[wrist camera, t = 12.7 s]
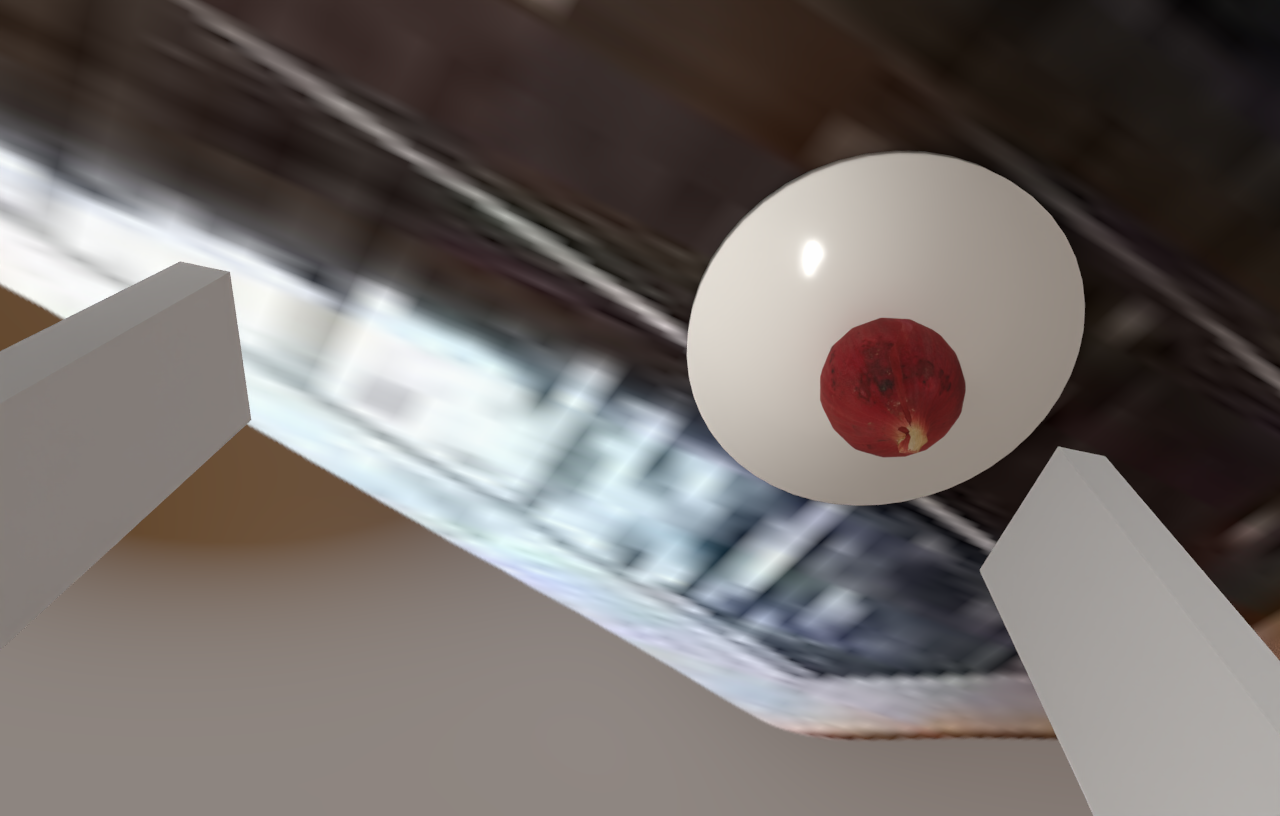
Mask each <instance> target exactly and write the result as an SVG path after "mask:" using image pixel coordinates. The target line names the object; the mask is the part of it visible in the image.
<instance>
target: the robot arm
mask: <svg viewBox="0 0 1280 816" xmlns="http://www.w3.org/2000/svg"><path fill="white" fill-rule="evenodd" d="M250 420H251V416H250V409H249V402H248V395H247V388H246V381H245V374H244V367H243V360H242V353H241V346H240V339H239V332H238V325H237V318H236V311H235V304H234V297H233V291H232V284H231V277H230V272H227V271H222V270H218V269H213V268H208V267H203V266H199V265H194V264H189V263H184V262H178V263H176V264H174V265H172V266H170V267H168V268H166V269H164V270H162V271H160V272H158V273H156V274H154V275H152V276H150V277H148V278H146V279H144V280H142V281H140V282H138V283H136V284H134V285H132V286H130V287H128V288H126V289H124V290H122V291H120V292H118V293H116V294H114V295H112V296H110V297H108V298H106V299H104V300H102V301H100V302H98V303H96V304H94V305H92V306H90V307H88V308H86V309H84V310H82V311H80V312H78V313H76V314H74V315H72V316H70V317H68V318H66V319H64V320H62V321H60V322H58V323H56V324H54V325H52V326H50V327H48V328H46V329H44V330H42V331H40V332H38V333H36V334H34V335H32V336H30V337H28V338H26V339H24V340H22V341H20V342H18V343H16V344H14V345H12V346H10V347H8V348H6V349H4V350H2V351H0V650H1V649H2V648H3V647H4V646H6V645H7V644H8V643H9V642H10V641H11V640H12V639H13V638H14V637H15V636H16V635H18V633H20V632H21V631H22V630H23V629H24V628H25V627H26V626H27V625H28V624H29V623H30V622H31V621H33V620H34V619H35V618H36V617H37V616H38V615H39V614H40V613H41V612H43V611H44V610H45V609H46V608H47V607H48V606H49V605H50V604H51V603H52V602H53V601H54V600H56V599H57V598H58V597H59V596H60V595H61V594H62V593H63V592H64V591H65V590H67V589H68V588H69V587H70V586H71V585H72V584H73V583H74V582H75V581H76V580H77V579H78V578H80V577H81V576H82V575H83V574H84V573H85V572H86V571H87V570H88V569H89V568H90V567H92V566H93V565H94V564H95V563H96V562H97V561H98V560H99V559H100V558H101V557H102V556H103V555H105V554H106V553H107V552H108V551H109V550H110V549H111V548H112V547H113V546H114V545H115V544H117V543H118V542H119V541H120V540H121V539H122V538H123V537H124V536H125V535H126V534H127V533H128V532H130V530H132V529H133V528H134V527H135V526H136V525H137V524H138V523H139V522H140V521H142V520H143V519H144V518H145V517H146V516H147V515H148V514H149V513H150V512H151V511H153V510H154V509H155V508H156V507H157V506H158V505H159V504H160V503H161V502H162V501H163V500H164V499H166V498H167V497H168V496H169V495H170V494H171V493H172V492H173V491H174V490H175V489H176V488H178V487H179V486H180V485H181V484H182V483H183V482H184V481H185V480H186V479H187V478H188V477H190V476H191V475H192V474H193V473H194V472H195V471H196V470H197V469H198V468H199V467H200V466H201V465H203V464H204V463H205V462H206V461H207V460H208V459H209V458H210V457H211V456H212V455H213V454H214V453H215V452H217V451H218V450H219V449H220V448H221V447H222V446H223V445H224V444H225V443H226V442H228V441H229V440H230V439H231V438H232V437H233V436H234V435H235V434H236V433H237V432H238V431H239V430H241V429H242V428H243V427H244V426H245V425H246V424H247V423H248V422H249V421H250ZM980 573H981V575H982V577H983V579H984V581H985V583H986V586H987V588H988V590H989V592H990V594H991V596H992V598H993V601H994V603H995V605H996V607H997V609H998V611H999V613H1000V616H1001V618H1002V620H1003V622H1004V624H1005V626H1006V629H1007V631H1008V633H1009V635H1010V637H1011V639H1012V641H1013V644H1014V646H1015V648H1016V650H1017V652H1018V654H1019V656H1020V659H1021V661H1022V663H1023V665H1024V667H1025V669H1026V672H1027V674H1028V676H1029V678H1030V680H1031V682H1032V684H1033V687H1034V689H1035V691H1036V693H1037V695H1038V697H1039V699H1040V702H1041V704H1042V706H1043V708H1044V710H1045V712H1046V715H1047V717H1048V719H1049V721H1050V723H1051V725H1052V727H1053V730H1054V732H1055V734H1056V736H1057V738H1058V740H1059V742H1060V745H1061V747H1062V749H1063V751H1064V753H1065V755H1066V757H1067V760H1068V762H1069V764H1070V766H1071V768H1072V770H1073V772H1074V775H1075V777H1076V779H1077V781H1078V783H1079V785H1080V788H1081V790H1082V792H1083V794H1084V796H1085V798H1086V801H1087V802H1088V805H1089V807H1090V809H1091V811H1092V813H1093V816H1280V661H1279V660H1278V658H1277V657H1276V656H1275V655H1274V654H1273V652H1272V651H1271V650H1270V649H1269V648H1268V647H1267V645H1266V644H1265V643H1264V642H1263V641H1262V640H1261V638H1260V637H1259V636H1258V635H1257V634H1256V633H1255V631H1254V630H1253V629H1252V628H1251V627H1250V626H1249V624H1248V623H1247V622H1246V621H1245V620H1244V618H1243V617H1242V616H1241V615H1240V614H1239V613H1238V611H1237V610H1236V609H1235V608H1234V607H1233V606H1232V604H1231V603H1230V602H1229V601H1228V600H1227V599H1226V597H1225V596H1224V595H1223V594H1222V593H1221V592H1220V590H1219V589H1218V588H1217V587H1216V586H1215V585H1214V583H1213V582H1212V581H1211V580H1210V579H1209V577H1208V576H1207V575H1206V574H1205V573H1204V572H1203V570H1202V569H1201V568H1200V567H1199V566H1198V565H1197V563H1196V562H1195V561H1194V560H1193V559H1192V558H1191V556H1190V555H1189V554H1188V553H1187V552H1186V551H1185V549H1184V548H1183V547H1182V546H1181V545H1180V543H1179V542H1178V541H1177V540H1176V539H1175V538H1174V536H1173V535H1172V534H1171V533H1170V532H1169V531H1168V529H1167V528H1166V527H1165V526H1164V525H1163V524H1162V522H1161V521H1160V520H1159V519H1158V518H1157V517H1156V515H1155V514H1154V513H1153V512H1152V511H1151V510H1150V508H1149V507H1148V506H1147V505H1146V504H1145V502H1144V501H1143V500H1142V499H1141V498H1140V497H1139V495H1138V494H1137V493H1136V492H1135V491H1134V490H1133V488H1132V487H1131V486H1130V485H1129V484H1128V483H1127V481H1126V480H1125V479H1124V478H1123V477H1122V476H1121V474H1120V473H1119V472H1118V471H1117V470H1116V468H1115V467H1114V466H1113V465H1112V464H1111V463H1110V461H1109V460H1108V459H1107V458H1106V457H1105V456H1101V455H1096V454H1091V453H1087V452H1082V451H1077V450H1072V449H1068V448H1063V447H1057V449H1056V451H1055V452H1054V454H1053V455H1052V457H1051V458H1050V460H1049V462H1048V463H1047V465H1046V466H1045V468H1044V469H1043V471H1042V473H1041V474H1040V476H1039V477H1038V479H1037V480H1036V482H1035V484H1034V485H1033V487H1032V488H1031V490H1030V491H1029V493H1028V495H1027V496H1026V498H1025V499H1024V501H1023V502H1022V504H1021V506H1020V507H1019V509H1018V510H1017V512H1016V513H1015V515H1014V517H1013V518H1012V520H1011V521H1010V523H1009V524H1008V526H1007V528H1006V529H1005V531H1004V532H1003V534H1002V535H1001V537H1000V539H999V540H998V542H997V543H996V545H995V546H994V548H993V550H992V551H991V553H990V554H989V556H988V557H987V559H986V561H985V562H984V564H983V565H982V567H981V568H980Z"/></svg>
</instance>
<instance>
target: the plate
mask: <svg viewBox="0 0 1280 816" xmlns="http://www.w3.org/2000/svg"><path fill="white" fill-rule="evenodd" d="M1084 315H1085V300H1084V291H1083V281H1082V278H1081V274H1080V270H1079V267H1078V263H1077V260H1076V257H1075V255H1074V253H1073V250H1072V248H1071V246H1070V244H1069V242H1068V240H1067V238H1066V236H1065V234H1064V233H1063V231H1062V230H1061V229H1060V227H1059V226H1058V224H1057V223H1056V221H1055V220H1054V219H1053V217H1052V216H1051V215H1050V214H1049V213H1048V212H1047V211H1046V210H1045V209H1044V208H1043V207H1042V206H1041V205H1040V204H1039V203H1038V202H1037V201H1036V200H1035V199H1034V198H1033V197H1032V196H1031V195H1029V194H1028V193H1027V192H1025V191H1024V190H1022V189H1021V188H1020V187H1018V186H1017V185H1015V184H1014V183H1013V182H1011V181H1009V180H1008V179H1006V178H1004V177H1002V176H1000V175H998V174H996V173H994V172H992V171H990V170H988V169H986V168H984V167H982V166H980V165H978V164H976V163H972V162H969V161H966V160H963V159H960V158H957V157H954V156H950V155H944V154H938V153H932V152H926V151H899V150H894V151H884V152H875V153H866V154H862V155H858V156H853V157H849V158H845V159H841V160H837V161H835V162H832V163H829V164H827V165H824V166H821V167H819V168H816V169H813V170H811V171H809V172H807V173H805V174H803V175H801V176H799V177H797V178H795V179H794V180H792V181H790V182H788V183H786V184H784V185H783V186H782V187H780V188H779V189H777V190H776V191H774V192H773V193H771V194H770V195H769V196H767V197H766V198H764V199H763V200H762V201H761V202H759V203H758V204H757V205H756V206H755V207H754V208H753V209H752V210H750V211H749V212H748V213H747V214H746V215H745V216H744V217H743V218H742V219H741V220H740V221H739V222H738V223H737V225H736V226H735V227H734V228H733V229H732V230H731V231H730V233H729V234H728V235H727V236H726V237H725V239H724V240H723V242H722V243H721V245H720V246H719V248H718V249H717V251H716V252H715V253H714V255H713V256H712V258H711V260H710V262H709V264H708V266H707V268H706V270H705V272H704V274H703V276H702V278H701V280H700V283H699V286H698V289H697V292H696V295H695V298H694V301H693V305H692V311H691V316H690V321H689V328H688V341H687V363H688V373H689V379H690V383H691V387H692V391H693V395H694V399H695V401H696V404H697V406H698V408H699V411H700V413H701V416H702V418H703V419H704V421H705V423H706V424H707V426H708V428H709V430H710V431H711V433H712V434H713V436H714V437H715V438H716V439H717V441H718V442H719V443H720V445H721V446H722V447H723V448H724V450H725V451H726V452H728V453H729V454H730V455H731V456H732V457H733V458H734V459H735V460H736V461H737V462H738V463H739V464H740V465H742V466H743V467H744V468H746V469H747V470H748V471H750V472H751V473H752V474H754V475H755V476H757V477H758V478H760V479H762V480H764V481H766V482H767V483H769V484H771V485H773V486H775V487H777V488H779V489H782V490H784V491H787V492H789V493H791V494H794V495H798V496H801V497H804V498H808V499H811V500H815V501H821V502H827V503H832V504H843V505H857V506H858V505H882V504H890V503H897V502H904V501H908V500H913V499H917V498H921V497H925V496H928V495H931V494H934V493H937V492H940V491H943V490H946V489H949V488H951V487H953V486H955V485H958V484H960V483H962V482H964V481H966V480H969V479H971V478H972V477H974V476H976V475H978V474H979V473H981V472H983V471H984V470H986V469H988V468H990V467H991V466H993V465H994V464H995V463H997V462H998V461H999V460H1001V459H1002V458H1004V457H1005V456H1006V455H1008V454H1009V453H1011V452H1012V451H1013V450H1014V449H1015V448H1016V447H1017V446H1018V445H1019V444H1020V443H1022V442H1023V441H1024V440H1025V439H1026V438H1027V437H1028V436H1029V435H1030V434H1031V433H1032V432H1033V431H1034V430H1035V428H1036V427H1037V426H1038V425H1039V424H1040V423H1041V422H1042V421H1043V419H1044V418H1045V417H1046V416H1047V414H1048V413H1049V411H1050V410H1051V408H1052V407H1053V406H1054V404H1055V403H1056V401H1057V400H1058V398H1059V397H1060V395H1061V393H1062V391H1063V389H1064V387H1065V385H1066V383H1067V381H1068V379H1069V378H1070V376H1071V373H1072V370H1073V367H1074V365H1075V362H1076V359H1077V356H1078V354H1079V349H1080V345H1081V340H1082V335H1083V330H1084ZM878 318H898V319H911V320H913V321H915V322H917V323H919V324H922V325H924V326H926V327H928V328H930V329H932V330H934V331H935V332H937V333H938V334H940V335H941V336H942V337H943V339H944V340H945V341H946V342H947V343H948V344H949V346H950V347H951V348H952V349H953V350H954V352H955V353H956V355H957V357H958V360H959V362H960V366H961V369H962V372H963V376H964V379H965V384H966V392H965V397H964V402H963V407H962V412H961V414H960V416H959V418H958V419H957V421H956V422H955V423H954V425H953V426H952V427H951V429H950V430H949V431H948V433H947V434H946V435H945V436H944V437H943V438H942V439H940V440H939V441H938V442H936V443H935V444H934V445H932V446H931V447H930V448H928V449H927V450H925V451H921V452H918V453H915V454H912V455H909V456H906V457H879V456H876V455H872V454H869V453H865V452H862V451H858V450H856V449H854V448H853V447H852V446H850V445H849V444H848V443H847V442H846V441H845V440H844V439H843V438H842V437H841V436H840V435H839V434H838V433H837V432H836V431H835V430H834V429H833V427H832V425H831V423H830V421H829V419H828V417H827V415H826V413H825V411H824V409H823V407H822V404H821V401H820V376H821V372H822V368H823V366H824V364H825V361H826V359H827V357H828V354H829V352H830V349H831V347H832V346H833V345H834V344H835V343H836V342H837V341H838V340H840V339H841V338H842V337H843V336H844V335H845V334H846V333H847V332H848V331H850V330H851V329H852V328H854V327H856V326H859V325H862V324H865V323H867V322H870V321H873V320H876V319H878Z"/></svg>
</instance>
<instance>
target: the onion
mask: <svg viewBox="0 0 1280 816" xmlns="http://www.w3.org/2000/svg"><path fill="white" fill-rule="evenodd" d="M965 392H966V384H965V379H964V376H963V372H962V369H961V366H960V362H959V360H958V357H957V355H956V353H955V352H954V350H953V349H952V348H951V347H950V346H949V344H948V343H947V342H946V341H945V340H944V339H943V337H942V336H941V335H940V334H938V333H937V332H935V331H934V330H932V329H930V328H928V327H926V326H924V325H922V324H919V323H917V322H915V321H913V320H911V319H898V318H878V319H876V320H873V321H870V322H867V323H865V324H862V325H859V326H856V327H854V328H852V329H851V330H850V331H848V332H847V333H846V334H845V335H844V336H843V337H842V338H841V339H840V340H838V341H837V342H836V343H835V344H834V345H833V346H832V347H831V349H830V352H829V354H828V357H827V359H826V361H825V364H824V366H823V368H822V372H821V376H820V401H821V404H822V407H823V409H824V411H825V413H826V415H827V417H828V419H829V421H830V423H831V425H832V427H833V429H834V430H835V431H836V432H837V433H838V434H839V435H840V436H841V437H842V438H843V439H844V440H845V441H846V442H847V443H848V444H849V445H850V446H852V447H853V448H854V449H856V450H858V451H862V452H865V453H869V454H872V455H876V456H879V457H906V456H909V455H912V454H915V453H918V452H921V451H925V450H927V449H928V448H930V447H931V446H932V445H934V444H935V443H936V442H938V441H939V440H940V439H942V438H943V437H944V436H945V435H946V434H947V433H948V431H949V430H950V429H951V427H952V426H953V425H954V423H955V422H956V421H957V419H958V418H959V416H960V414H961V412H962V407H963V402H964V397H965Z"/></svg>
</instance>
